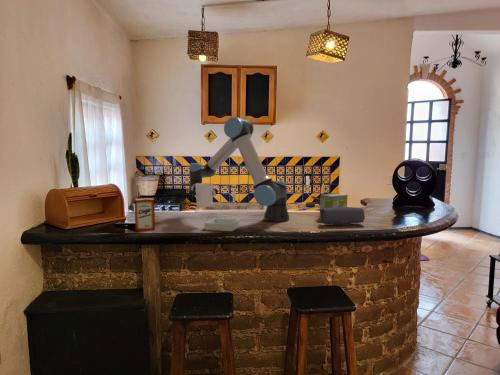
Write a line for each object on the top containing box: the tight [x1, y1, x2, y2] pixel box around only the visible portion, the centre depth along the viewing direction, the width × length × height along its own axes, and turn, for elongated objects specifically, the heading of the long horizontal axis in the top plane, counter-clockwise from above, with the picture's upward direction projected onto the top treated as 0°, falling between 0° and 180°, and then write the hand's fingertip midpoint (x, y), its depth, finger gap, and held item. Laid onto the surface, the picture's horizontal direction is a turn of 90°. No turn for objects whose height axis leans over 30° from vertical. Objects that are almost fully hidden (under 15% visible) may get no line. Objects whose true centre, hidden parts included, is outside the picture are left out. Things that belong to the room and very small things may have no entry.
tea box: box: [318, 193, 348, 219], centre depth 220 cm, size 15×10×15 cm, turn 131°
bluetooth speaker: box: [319, 206, 365, 226], centre depth 200 cm, size 23×9×10 cm, turn 100°
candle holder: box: [195, 182, 214, 208], centre depth 196 cm, size 10×10×12 cm
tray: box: [204, 217, 241, 232], centre depth 192 cm, size 15×15×4 cm
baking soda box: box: [134, 197, 156, 232], centre depth 186 cm, size 10×6×16 cm
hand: (206, 193), depth 192 cm, fingers closed on candle holder, 9 cm apart
